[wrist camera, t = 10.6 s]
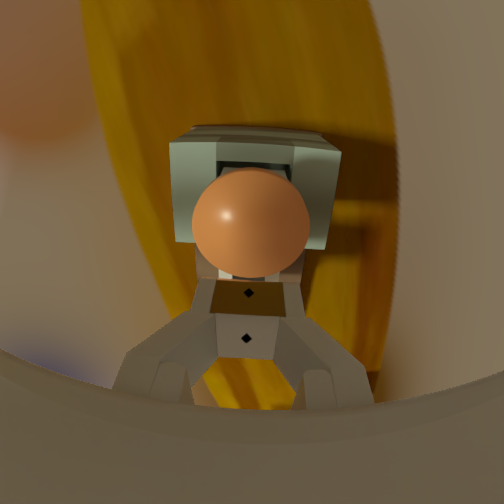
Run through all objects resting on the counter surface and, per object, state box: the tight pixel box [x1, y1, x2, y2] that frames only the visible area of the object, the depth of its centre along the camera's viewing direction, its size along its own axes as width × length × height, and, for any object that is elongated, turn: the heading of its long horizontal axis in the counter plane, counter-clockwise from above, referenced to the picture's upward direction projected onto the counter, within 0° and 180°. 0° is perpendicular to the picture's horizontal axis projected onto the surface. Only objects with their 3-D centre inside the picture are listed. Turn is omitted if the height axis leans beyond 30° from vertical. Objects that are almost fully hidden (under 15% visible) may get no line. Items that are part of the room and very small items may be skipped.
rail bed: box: [169, 125, 341, 284], centre depth 22 cm, size 20×10×8 cm, turn 177°
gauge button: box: [192, 167, 310, 278], centre depth 13 cm, size 5×5×4 cm
